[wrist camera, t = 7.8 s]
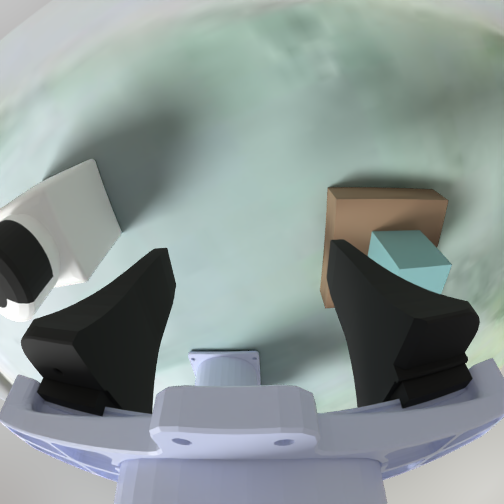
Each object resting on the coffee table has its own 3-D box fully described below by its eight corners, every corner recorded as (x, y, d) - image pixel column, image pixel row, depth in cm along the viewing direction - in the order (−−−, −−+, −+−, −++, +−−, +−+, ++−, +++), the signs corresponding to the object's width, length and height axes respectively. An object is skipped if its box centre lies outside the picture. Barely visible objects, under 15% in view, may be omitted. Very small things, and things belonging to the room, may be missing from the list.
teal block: (407, 275, 22) (432, 313, 18) (362, 279, 22) (383, 321, 18) (419, 230, 20) (451, 264, 16) (371, 231, 20) (399, 269, 16)
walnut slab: (409, 278, 26) (421, 297, 24) (319, 287, 26) (325, 308, 24) (429, 187, 21) (448, 200, 18) (326, 185, 21) (336, 199, 19)
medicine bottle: (39, 182, 20) (-52, 250, 9) (95, 156, 19) (-9, 224, 9) (67, 248, 23) (0, 334, 13) (124, 233, 23) (56, 335, 12)
